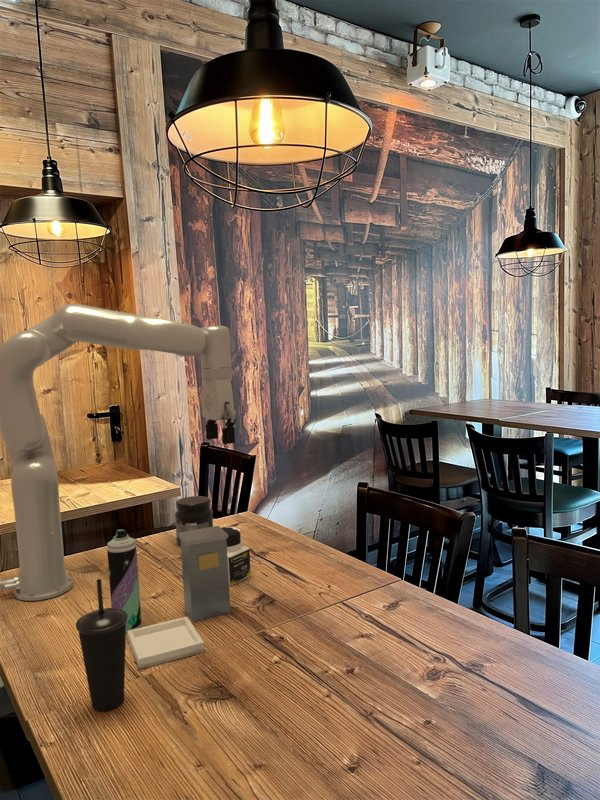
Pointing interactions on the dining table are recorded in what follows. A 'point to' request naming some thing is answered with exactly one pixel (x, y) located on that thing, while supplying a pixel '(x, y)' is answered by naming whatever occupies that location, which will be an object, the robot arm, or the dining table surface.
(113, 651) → the drinking cup
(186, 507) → the supplement container
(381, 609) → the dining table surface
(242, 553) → the medicine bottle
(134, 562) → the spray can
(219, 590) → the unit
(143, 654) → the dish
